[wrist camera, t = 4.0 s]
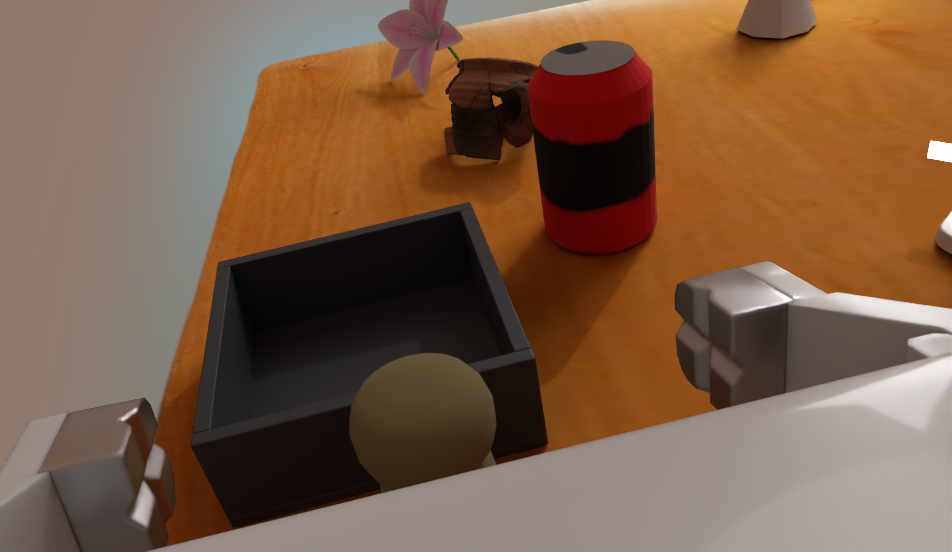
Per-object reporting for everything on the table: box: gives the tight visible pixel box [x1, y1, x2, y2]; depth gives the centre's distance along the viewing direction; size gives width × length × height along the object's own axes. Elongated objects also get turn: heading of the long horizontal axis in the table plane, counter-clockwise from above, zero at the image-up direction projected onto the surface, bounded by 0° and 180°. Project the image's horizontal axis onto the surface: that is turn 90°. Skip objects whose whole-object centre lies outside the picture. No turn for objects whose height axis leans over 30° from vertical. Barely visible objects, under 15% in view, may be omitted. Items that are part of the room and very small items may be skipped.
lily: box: [378, 0, 463, 94], centre depth 83 cm, size 12×12×10 cm
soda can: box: [528, 41, 657, 254], centre depth 51 cm, size 8×8×12 cm
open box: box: [191, 202, 548, 527], centre depth 43 cm, size 16×16×6 cm
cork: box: [349, 353, 496, 493], centre depth 30 cm, size 6×6×11 cm
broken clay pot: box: [444, 58, 539, 160], centre depth 66 cm, size 12×10×8 cm
